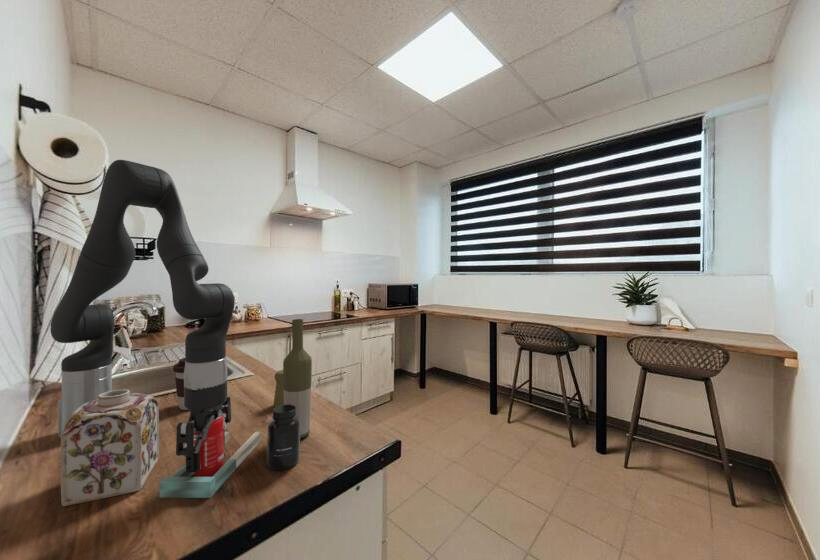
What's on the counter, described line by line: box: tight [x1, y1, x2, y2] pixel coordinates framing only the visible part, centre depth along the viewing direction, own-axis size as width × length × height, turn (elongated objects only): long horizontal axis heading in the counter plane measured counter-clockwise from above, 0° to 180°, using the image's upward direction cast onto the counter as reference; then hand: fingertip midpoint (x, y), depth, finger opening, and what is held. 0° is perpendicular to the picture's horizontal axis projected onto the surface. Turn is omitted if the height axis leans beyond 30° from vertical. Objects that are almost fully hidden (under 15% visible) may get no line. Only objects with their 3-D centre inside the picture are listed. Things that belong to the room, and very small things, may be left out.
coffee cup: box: [172, 357, 189, 411], centre depth 101 cm, size 10×10×15 cm
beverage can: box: [193, 413, 225, 477], centre depth 67 cm, size 5×5×12 cm
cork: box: [272, 369, 284, 408], centre depth 103 cm, size 6×6×11 cm
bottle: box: [282, 318, 313, 439], centre depth 83 cm, size 7×7×30 cm
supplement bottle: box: [266, 405, 301, 471], centre depth 72 cm, size 7×7×12 cm
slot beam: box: [158, 431, 262, 499], centre depth 71 cm, size 10×21×3 cm, turn 0°
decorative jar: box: [60, 389, 160, 507], centre depth 65 cm, size 12×12×18 cm
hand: (206, 458), depth 67 cm, fingers open, 8 cm apart
